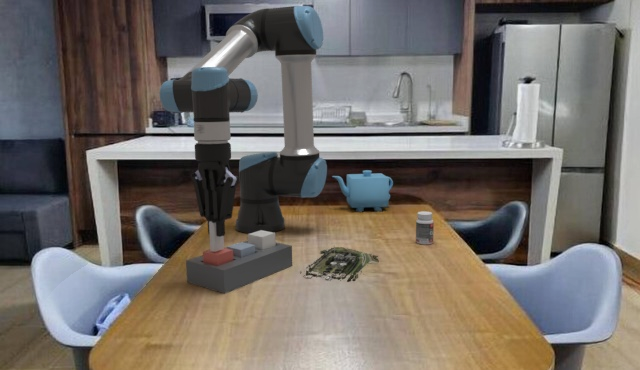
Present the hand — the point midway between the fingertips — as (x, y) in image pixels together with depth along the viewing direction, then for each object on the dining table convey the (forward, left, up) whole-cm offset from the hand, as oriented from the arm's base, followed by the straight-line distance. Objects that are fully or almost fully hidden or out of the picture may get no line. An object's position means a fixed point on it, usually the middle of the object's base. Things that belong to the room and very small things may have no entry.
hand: (217, 249), depth 117 cm
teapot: (-15, +82, -8) cm, 84 cm away
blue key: (0, +7, -5) cm, 9 cm away
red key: (0, 0, -4) cm, 4 cm away
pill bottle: (+23, +54, -8) cm, 60 cm away
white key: (0, +14, -4) cm, 15 cm away
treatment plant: (+15, +26, -8) cm, 31 cm away
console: (0, +7, -8) cm, 10 cm away
